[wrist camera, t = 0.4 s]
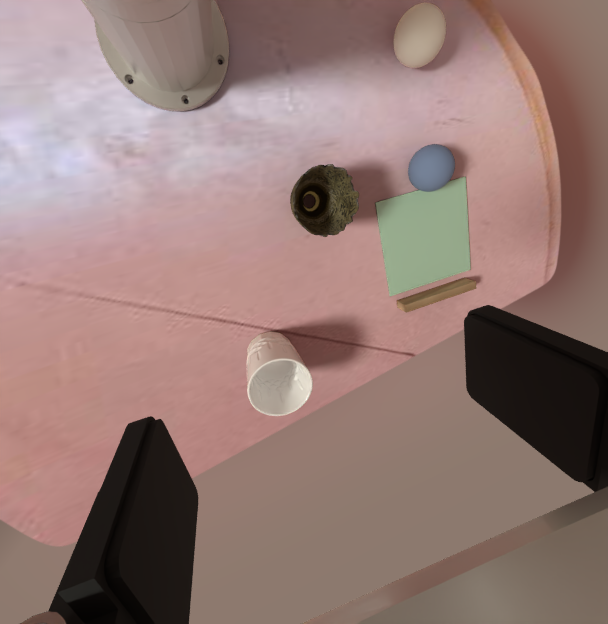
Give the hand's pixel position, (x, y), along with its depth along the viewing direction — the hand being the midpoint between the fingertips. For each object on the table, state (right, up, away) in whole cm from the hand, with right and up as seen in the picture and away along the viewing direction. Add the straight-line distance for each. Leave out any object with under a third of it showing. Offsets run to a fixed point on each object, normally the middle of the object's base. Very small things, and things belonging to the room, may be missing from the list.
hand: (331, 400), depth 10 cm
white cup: (-6, -3, +38) cm, 39 cm away
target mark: (+17, +14, +38) cm, 44 cm away
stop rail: (+19, +6, +41) cm, 46 cm away
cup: (0, +17, +33) cm, 37 cm away
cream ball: (+12, +34, +27) cm, 45 cm away
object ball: (+16, +21, +32) cm, 41 cm away
